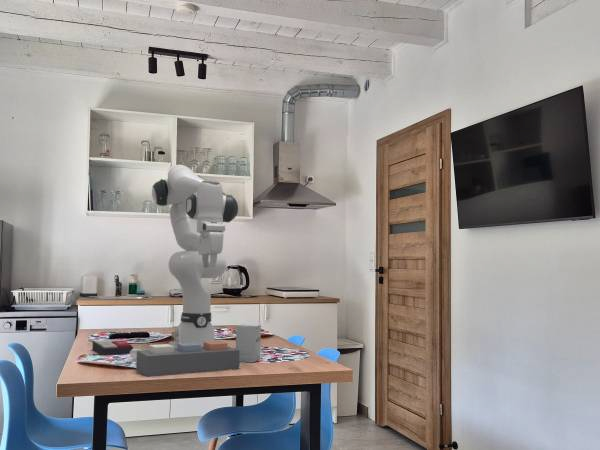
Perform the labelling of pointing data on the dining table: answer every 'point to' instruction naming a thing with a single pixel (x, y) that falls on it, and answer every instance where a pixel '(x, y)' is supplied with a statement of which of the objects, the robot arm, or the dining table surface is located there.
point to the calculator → (111, 347)
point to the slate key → (188, 347)
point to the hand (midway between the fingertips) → (209, 268)
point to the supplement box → (248, 342)
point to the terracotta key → (215, 345)
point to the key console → (186, 361)
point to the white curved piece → (133, 354)
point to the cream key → (161, 349)
